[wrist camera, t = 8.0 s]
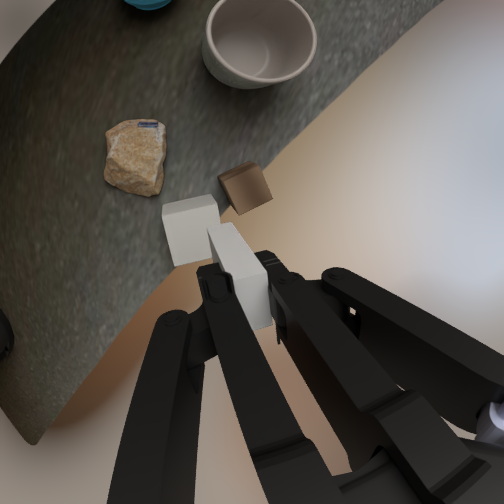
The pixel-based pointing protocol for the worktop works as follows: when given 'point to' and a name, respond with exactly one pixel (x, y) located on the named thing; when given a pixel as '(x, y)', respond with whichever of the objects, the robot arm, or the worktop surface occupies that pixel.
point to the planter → (257, 42)
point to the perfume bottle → (148, 4)
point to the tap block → (190, 228)
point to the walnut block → (245, 187)
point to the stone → (136, 156)
